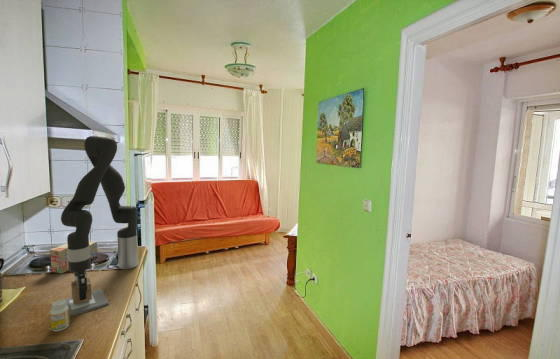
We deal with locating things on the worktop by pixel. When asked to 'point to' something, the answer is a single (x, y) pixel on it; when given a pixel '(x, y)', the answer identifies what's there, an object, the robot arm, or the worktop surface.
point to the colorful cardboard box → (66, 257)
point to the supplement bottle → (59, 315)
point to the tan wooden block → (76, 293)
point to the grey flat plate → (87, 303)
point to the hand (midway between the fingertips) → (81, 295)
